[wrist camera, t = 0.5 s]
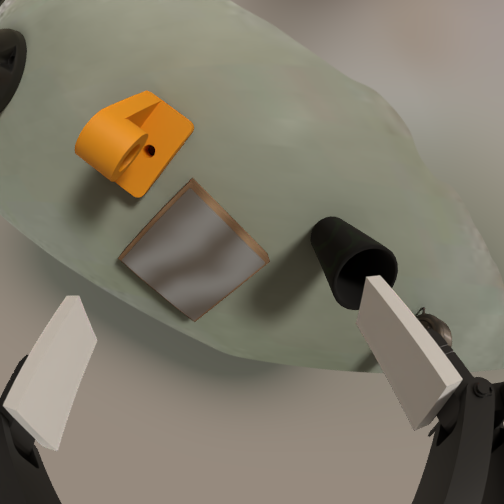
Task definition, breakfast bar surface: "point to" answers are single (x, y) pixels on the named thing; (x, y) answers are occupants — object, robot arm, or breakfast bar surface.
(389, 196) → the breakfast bar surface
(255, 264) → the plinth
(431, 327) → the alarm clock
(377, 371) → the breakfast bar surface
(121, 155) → the bracket
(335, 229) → the cup
